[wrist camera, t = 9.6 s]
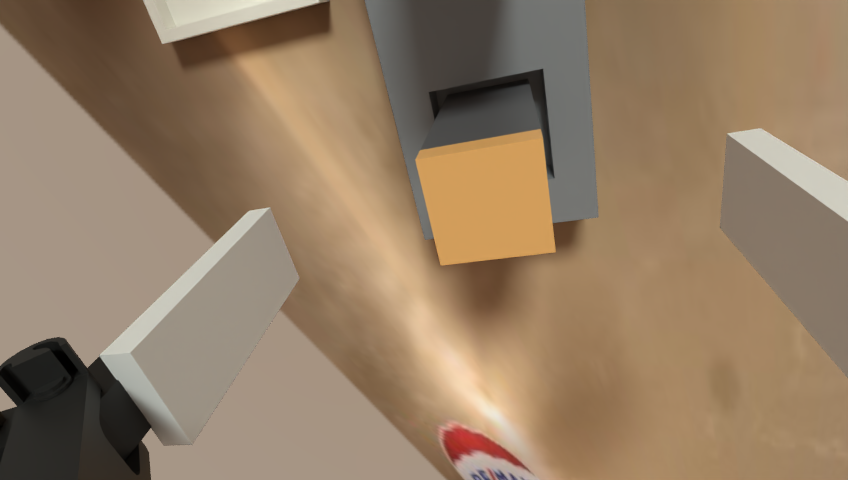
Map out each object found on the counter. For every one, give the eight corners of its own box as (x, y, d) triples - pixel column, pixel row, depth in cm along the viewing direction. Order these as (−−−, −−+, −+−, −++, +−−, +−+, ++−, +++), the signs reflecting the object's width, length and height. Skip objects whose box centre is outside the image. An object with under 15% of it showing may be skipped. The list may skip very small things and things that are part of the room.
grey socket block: (336, -209, 20) (302, -247, 17) (551, -289, 18) (562, -353, 15) (434, 208, 29) (424, 239, 26) (586, 187, 27) (598, 217, 24)
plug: (447, 94, 24) (414, 159, 15) (528, 78, 23) (542, 137, 14) (462, 169, 26) (440, 265, 17) (537, 156, 25) (555, 252, 16)
